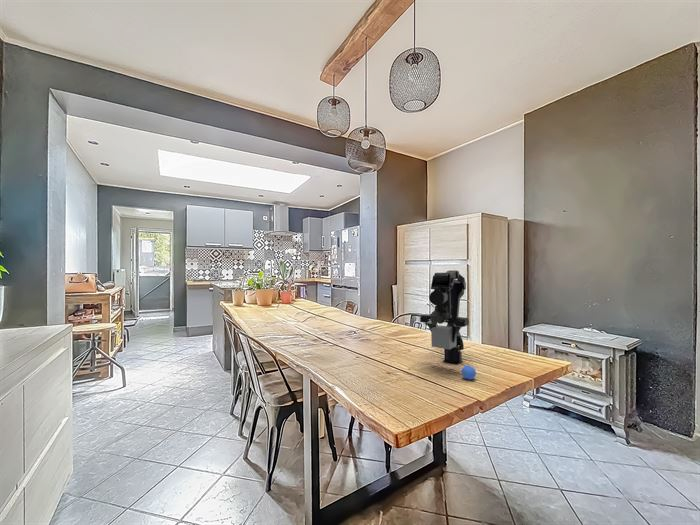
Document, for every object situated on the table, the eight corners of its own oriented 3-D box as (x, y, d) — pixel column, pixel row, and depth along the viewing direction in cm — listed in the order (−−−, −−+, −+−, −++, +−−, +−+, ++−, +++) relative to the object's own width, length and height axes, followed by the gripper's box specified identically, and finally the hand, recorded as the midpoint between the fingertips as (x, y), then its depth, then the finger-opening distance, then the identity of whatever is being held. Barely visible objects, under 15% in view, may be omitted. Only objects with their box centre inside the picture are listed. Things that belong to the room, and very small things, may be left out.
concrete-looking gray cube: (431, 346, 123) (431, 327, 124) (439, 343, 129) (438, 325, 129) (449, 349, 119) (449, 330, 119) (456, 345, 124) (456, 327, 125)
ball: (459, 379, 113) (459, 366, 113) (464, 375, 117) (464, 362, 117) (473, 382, 110) (473, 368, 110) (477, 378, 114) (477, 365, 114)
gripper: (413, 303, 124) (414, 341, 124) (459, 306, 112) (459, 348, 112) (425, 301, 133) (426, 336, 132) (469, 303, 121) (469, 343, 120)
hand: (444, 341), depth 124 cm, fingers closed on concrete-looking gray cube, 7 cm apart
